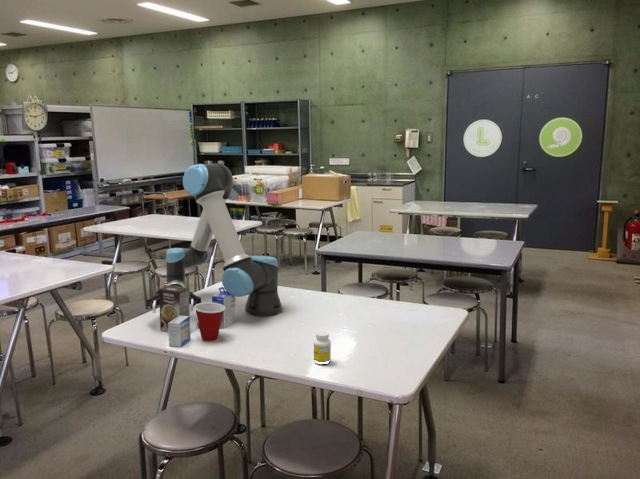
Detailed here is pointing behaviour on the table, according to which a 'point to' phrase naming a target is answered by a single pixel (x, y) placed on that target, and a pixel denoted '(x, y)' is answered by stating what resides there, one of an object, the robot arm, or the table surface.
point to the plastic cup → (209, 319)
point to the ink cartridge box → (229, 304)
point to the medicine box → (179, 331)
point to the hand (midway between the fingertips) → (173, 308)
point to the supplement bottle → (322, 347)
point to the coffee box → (172, 304)
